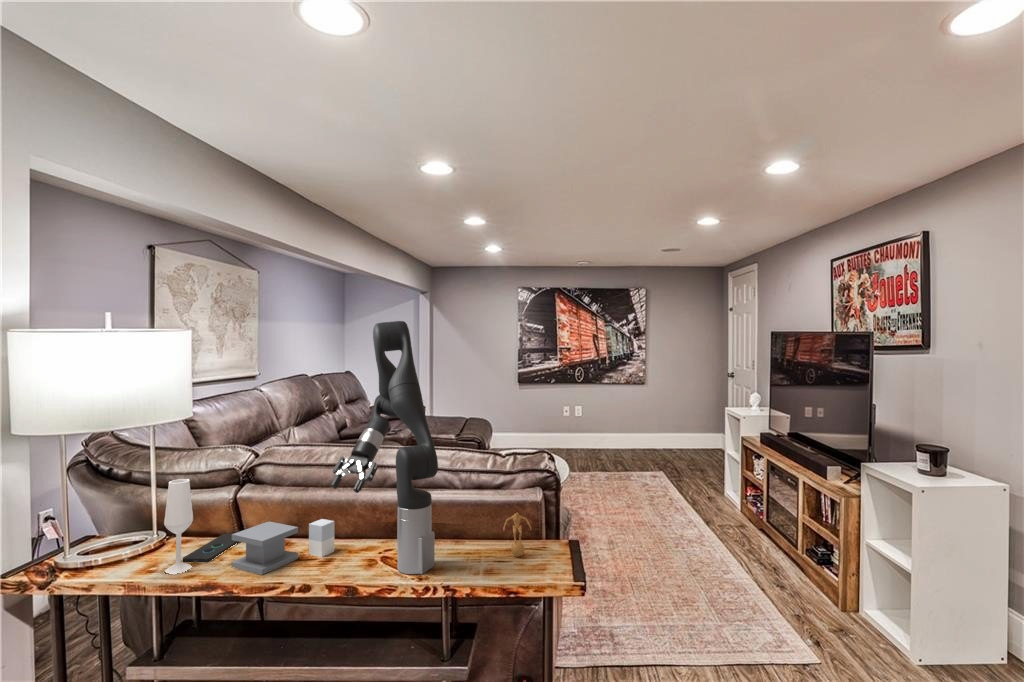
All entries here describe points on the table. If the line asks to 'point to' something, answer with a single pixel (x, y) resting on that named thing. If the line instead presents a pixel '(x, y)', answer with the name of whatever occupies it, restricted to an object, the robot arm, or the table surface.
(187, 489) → the champagne flute
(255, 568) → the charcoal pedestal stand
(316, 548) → the block
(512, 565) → the table surface
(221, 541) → the smart home device
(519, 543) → the figurine
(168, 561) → the table surface
